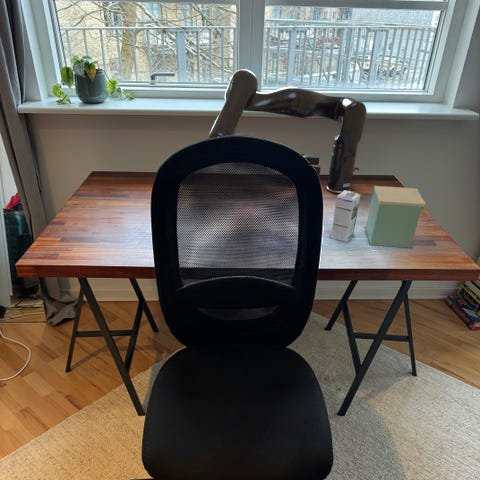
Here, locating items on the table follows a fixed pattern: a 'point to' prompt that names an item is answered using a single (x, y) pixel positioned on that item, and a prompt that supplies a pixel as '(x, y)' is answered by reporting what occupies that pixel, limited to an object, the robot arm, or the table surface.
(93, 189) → the table surface
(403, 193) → the lid
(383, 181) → the table surface
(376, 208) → the box
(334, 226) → the syrup box
